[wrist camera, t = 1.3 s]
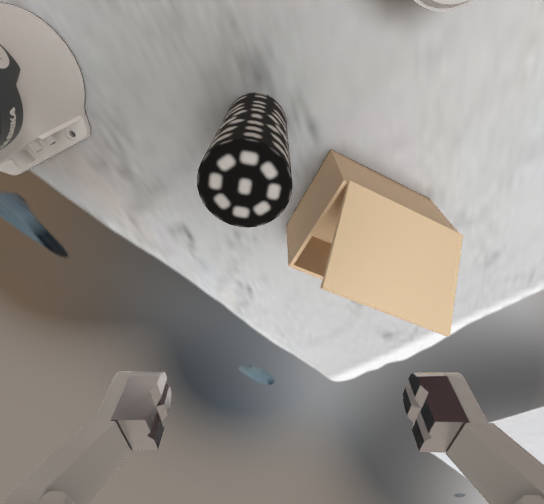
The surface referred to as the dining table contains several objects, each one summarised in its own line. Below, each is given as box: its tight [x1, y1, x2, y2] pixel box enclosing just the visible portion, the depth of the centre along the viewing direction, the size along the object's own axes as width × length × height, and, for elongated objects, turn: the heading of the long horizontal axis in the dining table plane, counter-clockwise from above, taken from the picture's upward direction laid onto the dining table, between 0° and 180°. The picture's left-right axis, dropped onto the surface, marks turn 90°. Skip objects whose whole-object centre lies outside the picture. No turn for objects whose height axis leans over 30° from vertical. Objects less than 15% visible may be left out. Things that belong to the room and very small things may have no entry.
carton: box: [287, 150, 459, 279], centre depth 48 cm, size 14×18×11 cm
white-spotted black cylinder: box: [197, 93, 292, 227], centre depth 37 cm, size 8×8×20 cm
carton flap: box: [321, 181, 463, 336], centre depth 38 cm, size 13×17×1 cm
